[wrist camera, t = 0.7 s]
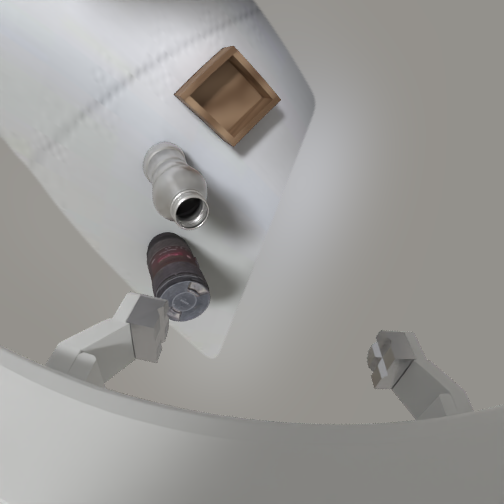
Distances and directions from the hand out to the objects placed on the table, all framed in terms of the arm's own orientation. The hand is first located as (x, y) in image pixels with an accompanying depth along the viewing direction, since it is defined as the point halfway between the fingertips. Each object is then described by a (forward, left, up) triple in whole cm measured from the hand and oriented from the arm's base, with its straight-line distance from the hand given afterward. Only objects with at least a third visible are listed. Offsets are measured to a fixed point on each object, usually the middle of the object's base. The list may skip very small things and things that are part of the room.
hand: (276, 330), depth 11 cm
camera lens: (+16, -14, -40) cm, 45 cm away
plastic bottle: (+5, -2, -40) cm, 40 cm away
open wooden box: (+5, +12, -40) cm, 42 cm away
